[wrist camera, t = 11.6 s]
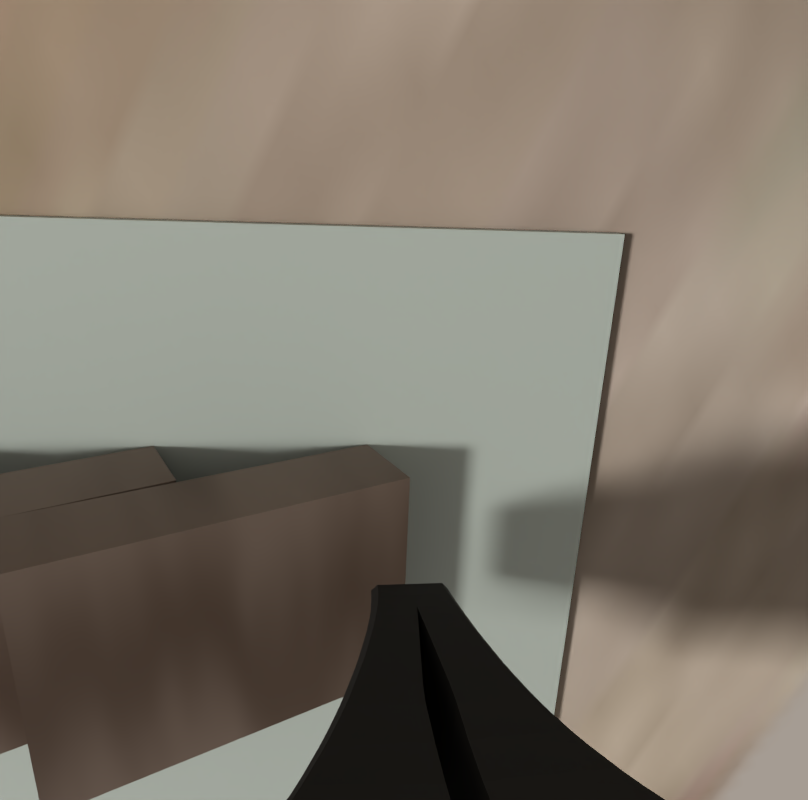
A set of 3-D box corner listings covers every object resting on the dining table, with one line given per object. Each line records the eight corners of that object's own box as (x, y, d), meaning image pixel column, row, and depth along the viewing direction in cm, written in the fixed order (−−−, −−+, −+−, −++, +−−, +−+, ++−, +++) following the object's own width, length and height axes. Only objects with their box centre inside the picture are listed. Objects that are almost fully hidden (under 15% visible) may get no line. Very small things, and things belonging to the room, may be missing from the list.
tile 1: (401, 673, 14) (43, 818, 11) (363, 625, 16) (36, 740, 12) (410, 477, 13) (-7, 575, 9) (367, 444, 14) (-8, 519, 11)
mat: (537, 799, 19) (540, 809, 19) (-487, 869, 16) (-502, 881, 16) (619, 232, 14) (624, 234, 13) (-902, 188, 11) (-935, 189, 10)
